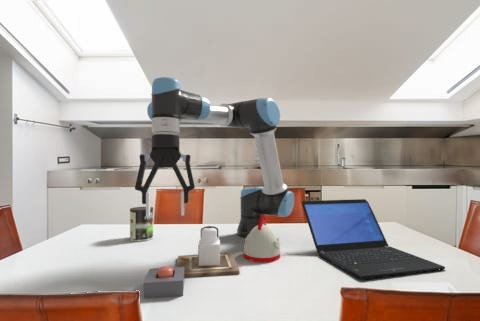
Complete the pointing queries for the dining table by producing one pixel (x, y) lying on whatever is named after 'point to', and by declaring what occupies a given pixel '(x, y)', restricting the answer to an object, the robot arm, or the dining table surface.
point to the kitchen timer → (261, 244)
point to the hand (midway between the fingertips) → (165, 215)
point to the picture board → (194, 270)
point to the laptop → (357, 240)
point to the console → (164, 284)
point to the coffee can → (141, 224)
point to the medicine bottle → (209, 247)
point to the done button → (165, 272)
